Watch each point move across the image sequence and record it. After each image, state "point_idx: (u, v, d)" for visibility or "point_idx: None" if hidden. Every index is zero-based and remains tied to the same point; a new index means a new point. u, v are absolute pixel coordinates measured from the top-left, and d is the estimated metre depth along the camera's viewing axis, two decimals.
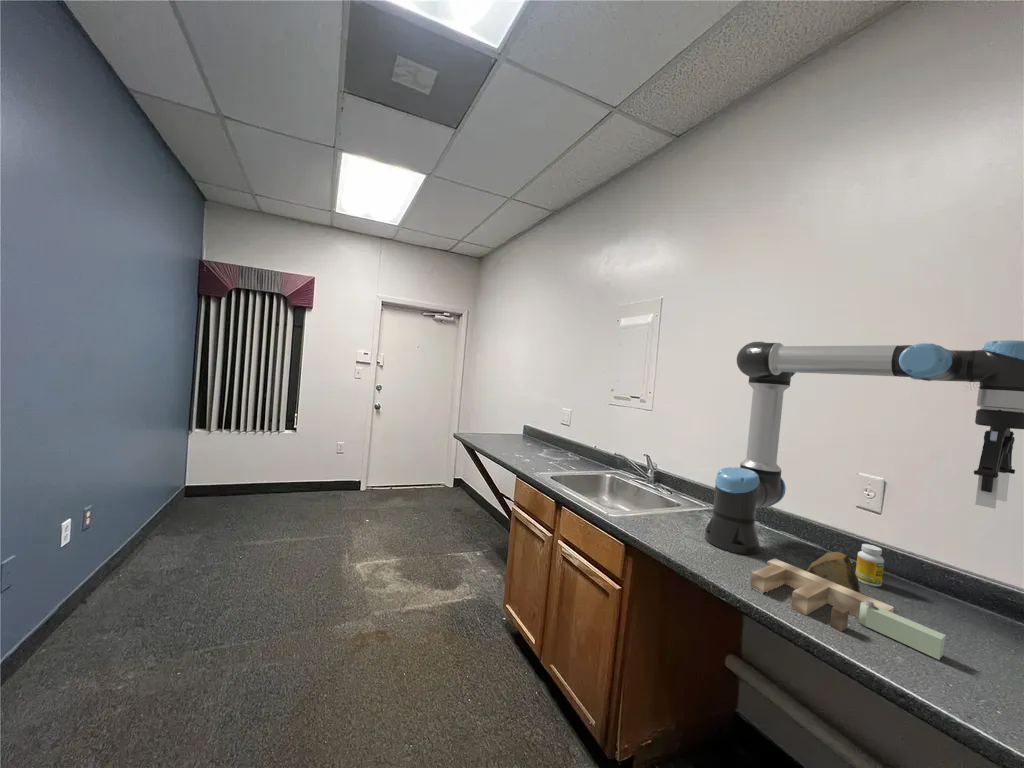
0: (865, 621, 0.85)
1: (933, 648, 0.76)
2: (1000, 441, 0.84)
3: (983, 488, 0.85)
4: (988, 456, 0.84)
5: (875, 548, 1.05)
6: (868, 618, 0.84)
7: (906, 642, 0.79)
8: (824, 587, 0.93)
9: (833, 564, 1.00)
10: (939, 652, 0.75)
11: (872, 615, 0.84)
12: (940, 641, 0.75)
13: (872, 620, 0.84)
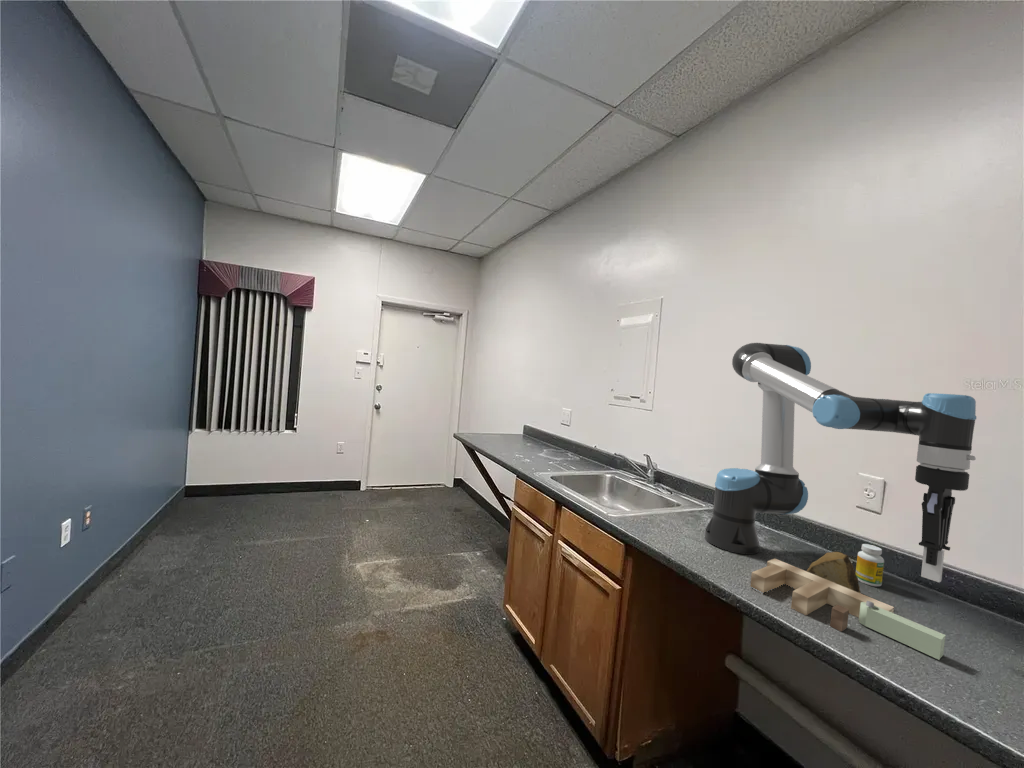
0: (865, 621, 0.85)
1: (933, 648, 0.76)
2: (938, 515, 0.79)
3: (928, 561, 0.82)
4: (929, 530, 0.80)
5: (875, 548, 1.05)
6: (868, 618, 0.84)
7: (906, 642, 0.79)
8: (824, 587, 0.93)
9: (833, 564, 1.00)
10: (939, 652, 0.75)
11: (872, 615, 0.84)
12: (940, 641, 0.75)
13: (872, 620, 0.84)
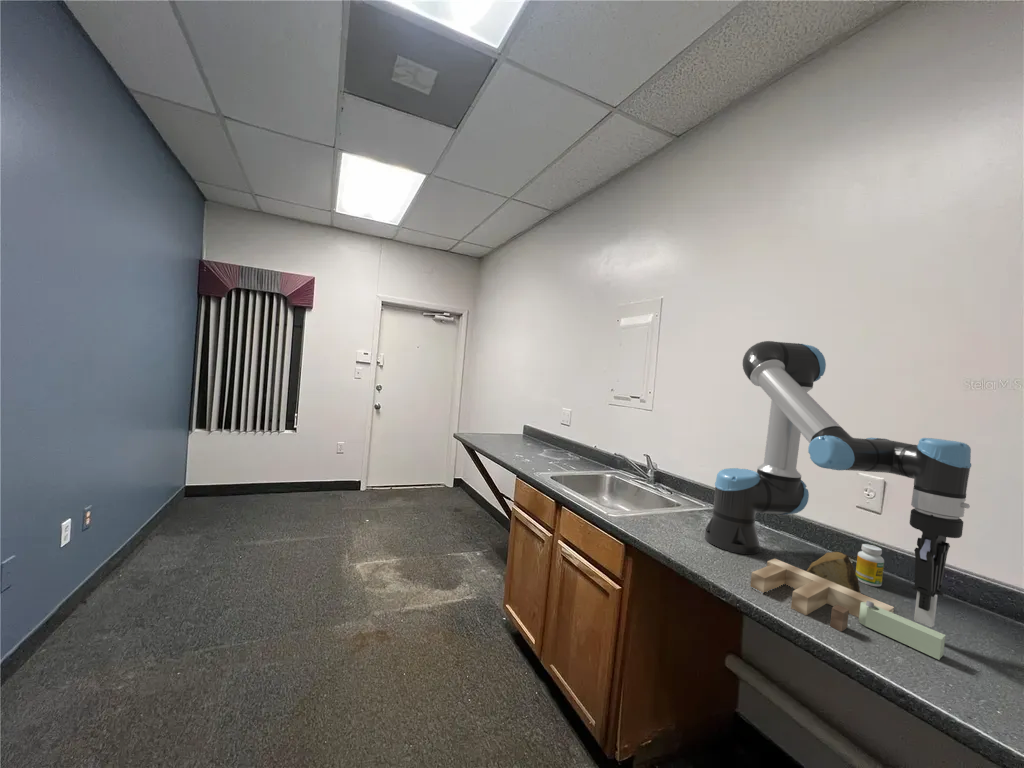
0: (865, 621, 0.85)
1: (933, 648, 0.76)
2: (930, 562, 0.79)
3: (920, 605, 0.82)
4: (921, 576, 0.81)
5: (875, 548, 1.05)
6: (868, 618, 0.84)
7: (906, 642, 0.79)
8: (824, 587, 0.93)
9: (833, 564, 1.00)
10: (939, 652, 0.75)
11: (872, 615, 0.84)
12: (940, 641, 0.75)
13: (872, 620, 0.84)
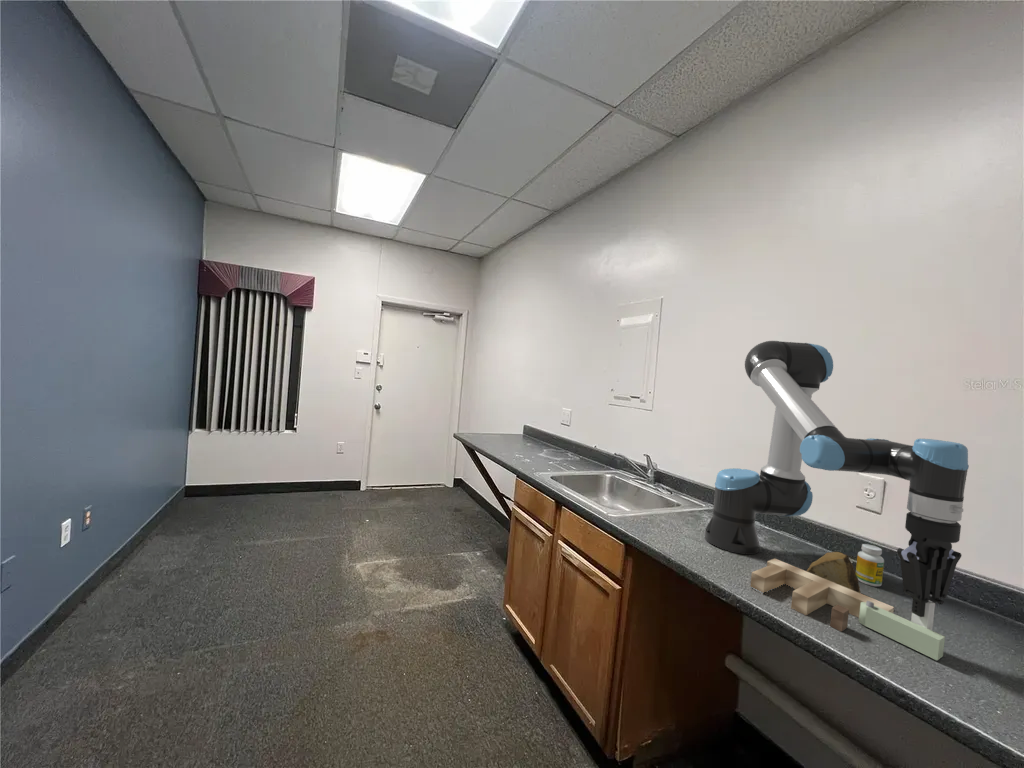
0: (864, 621, 0.85)
1: (931, 649, 0.76)
2: (912, 563, 0.78)
3: (913, 610, 0.80)
4: (907, 578, 0.79)
5: (875, 548, 1.05)
6: (867, 618, 0.84)
7: (905, 642, 0.79)
8: (824, 587, 0.93)
9: (833, 564, 1.00)
10: (937, 653, 0.75)
11: (871, 615, 0.84)
12: (938, 642, 0.75)
13: (871, 620, 0.84)
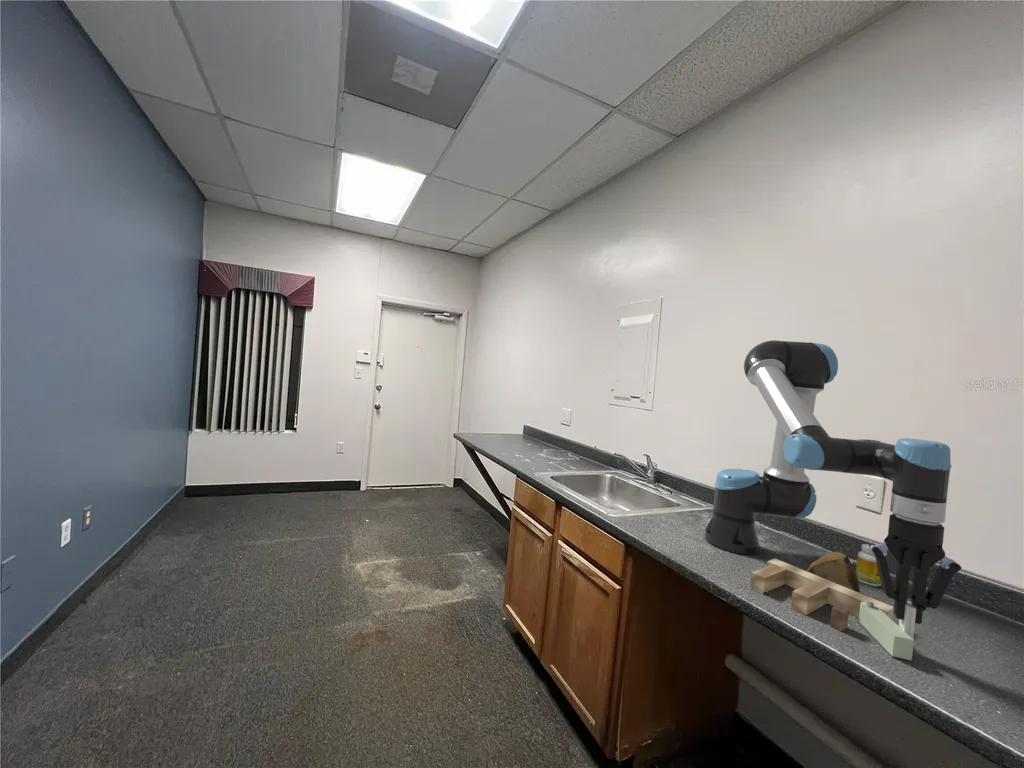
0: (859, 617, 0.86)
1: (890, 644, 0.76)
2: (877, 558, 0.79)
3: (894, 612, 0.79)
4: (880, 575, 0.80)
5: None
6: (861, 614, 0.85)
7: (877, 638, 0.80)
8: (824, 587, 0.93)
9: (833, 564, 1.00)
10: (893, 649, 0.75)
11: (863, 612, 0.85)
12: (894, 637, 0.75)
13: (863, 616, 0.85)
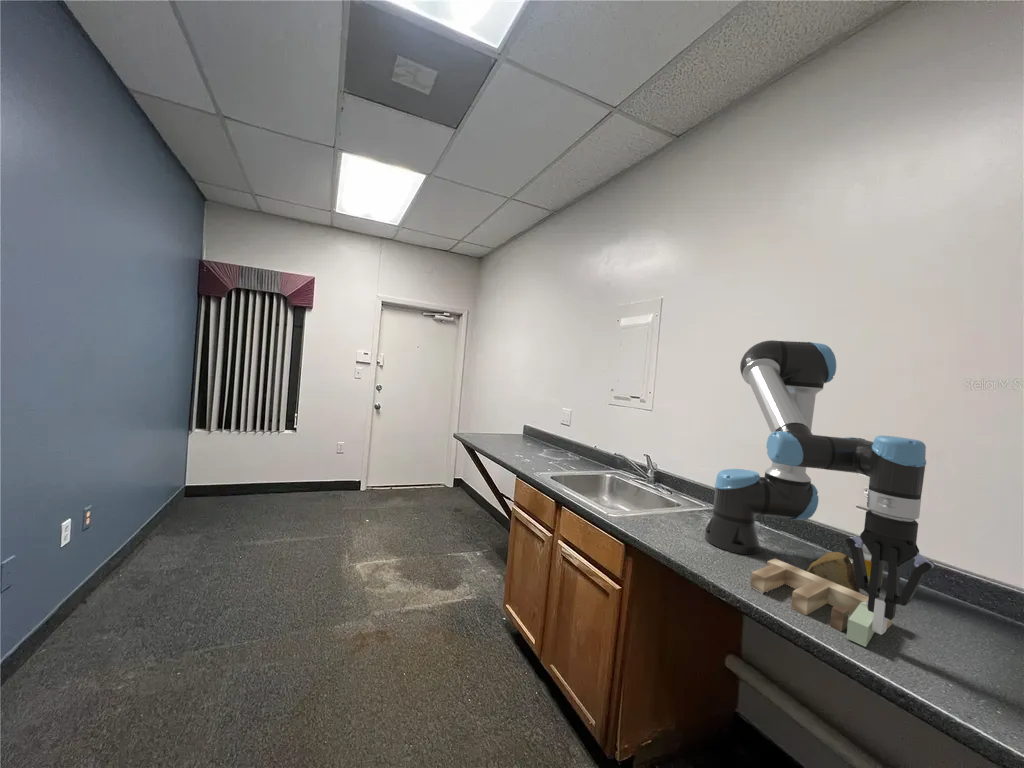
0: None
1: None
2: None
3: None
4: None
5: None
6: None
7: None
8: (824, 587, 0.93)
9: (833, 564, 1.00)
10: (848, 632, 0.80)
11: None
12: (848, 621, 0.80)
13: None
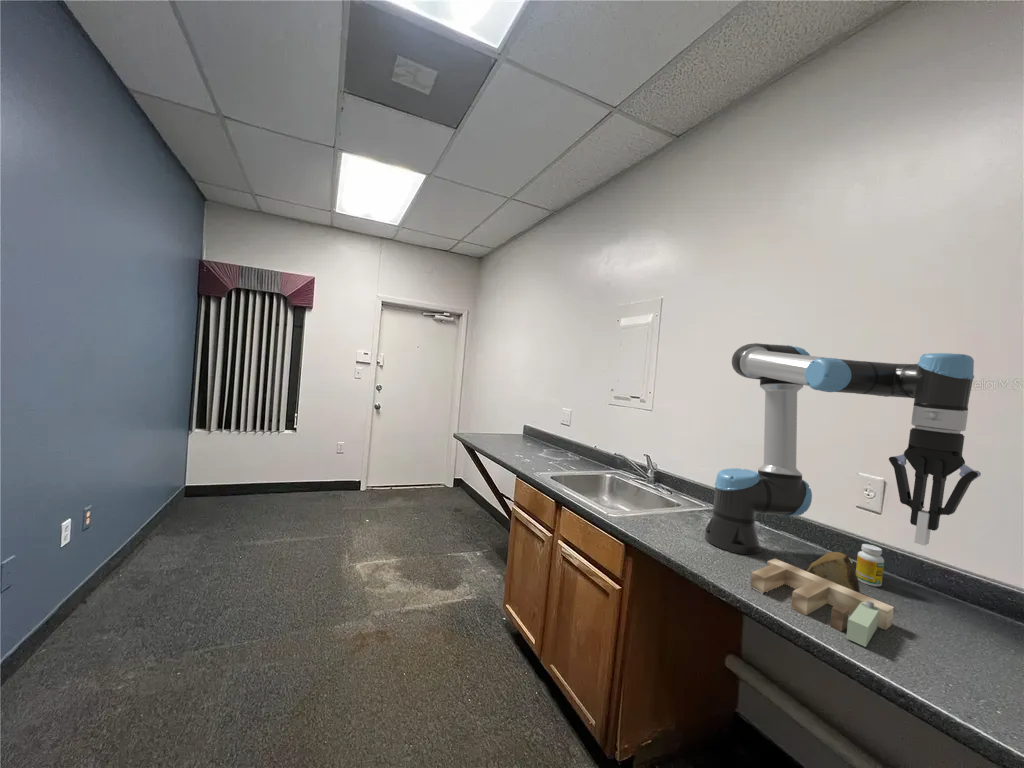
0: None
1: None
2: None
3: None
4: None
5: (875, 548, 1.05)
6: None
7: None
8: (824, 587, 0.93)
9: (833, 564, 1.00)
10: (848, 632, 0.80)
11: None
12: (848, 621, 0.80)
13: None
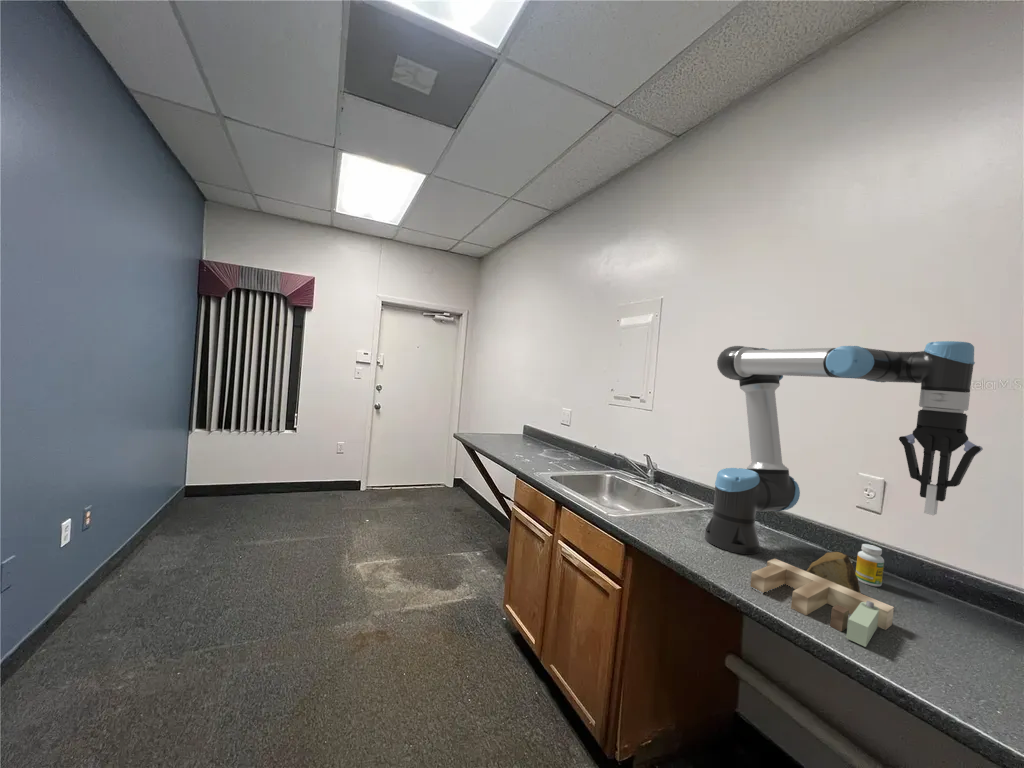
0: None
1: None
2: None
3: None
4: None
5: (875, 548, 1.05)
6: None
7: None
8: (824, 587, 0.93)
9: (833, 564, 1.00)
10: (848, 632, 0.80)
11: None
12: (848, 621, 0.80)
13: None
